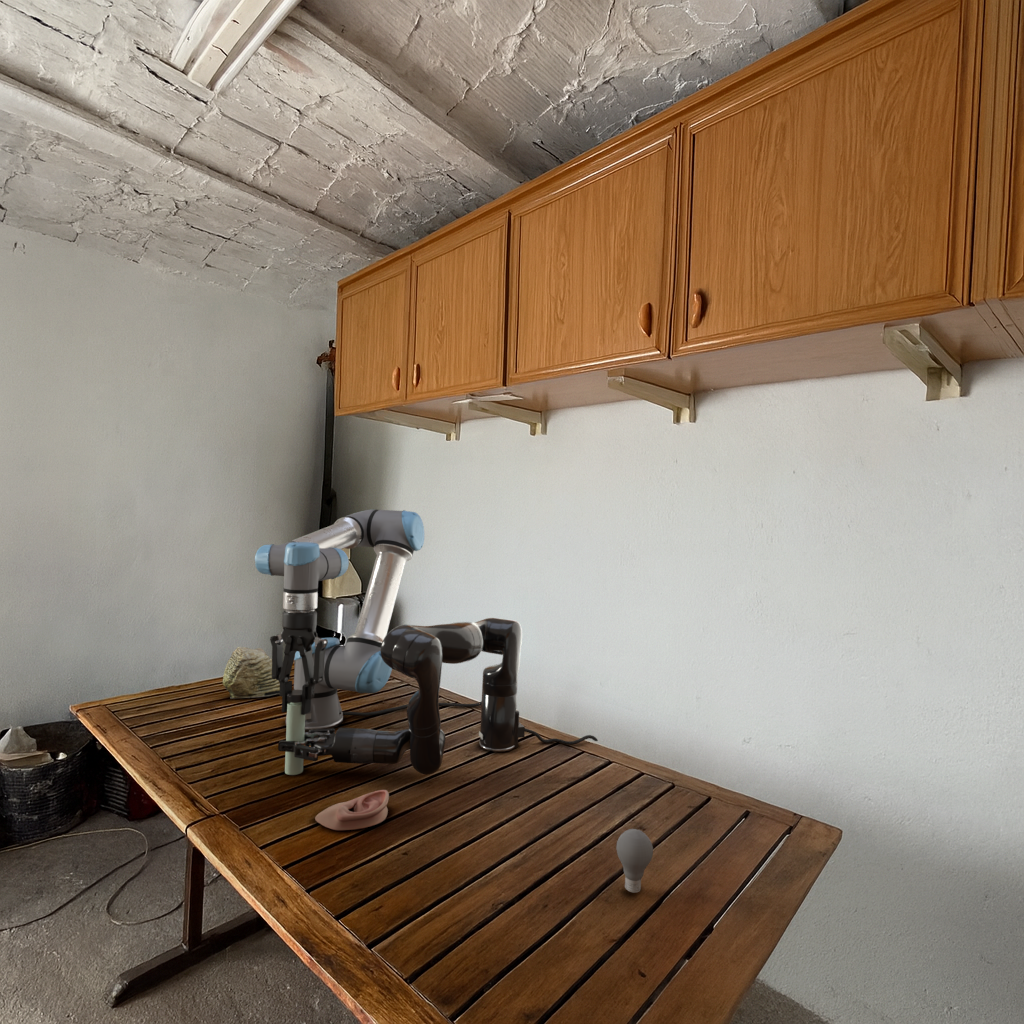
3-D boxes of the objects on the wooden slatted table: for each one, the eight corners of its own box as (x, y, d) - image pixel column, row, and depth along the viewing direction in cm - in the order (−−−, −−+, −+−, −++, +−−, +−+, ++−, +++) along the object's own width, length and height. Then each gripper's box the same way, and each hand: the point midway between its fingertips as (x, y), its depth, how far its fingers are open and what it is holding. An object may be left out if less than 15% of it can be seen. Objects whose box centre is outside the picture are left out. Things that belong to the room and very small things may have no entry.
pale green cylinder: (306, 770, 146) (309, 696, 146) (292, 776, 143) (294, 700, 142) (295, 766, 148) (298, 692, 148) (281, 771, 145) (283, 696, 144)
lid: (306, 702, 144) (306, 694, 144) (286, 703, 142) (286, 695, 142) (306, 696, 148) (306, 689, 148) (287, 697, 146) (287, 690, 146)
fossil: (218, 695, 195) (220, 647, 195) (278, 685, 208) (279, 640, 207) (228, 703, 189) (230, 653, 188) (289, 692, 201) (290, 645, 201)
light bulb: (610, 879, 108) (613, 822, 108) (644, 879, 109) (647, 822, 109) (619, 902, 102) (622, 840, 102) (655, 901, 103) (658, 840, 103)
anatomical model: (307, 805, 121) (336, 780, 133) (306, 826, 121) (335, 798, 133) (372, 815, 119) (395, 788, 130) (371, 836, 119) (394, 807, 130)
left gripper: (256, 609, 143) (252, 712, 143) (326, 616, 139) (322, 721, 140) (275, 604, 150) (272, 702, 151) (342, 610, 146) (338, 710, 147)
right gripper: (365, 718, 152) (294, 715, 152) (348, 741, 138) (270, 737, 138) (364, 749, 152) (293, 746, 152) (347, 775, 138) (269, 771, 138)
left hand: (296, 711), depth 145 cm, fingers closed on lid, 4 cm apart
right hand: (283, 741), depth 145 cm, fingers closed on pale green cylinder, 4 cm apart
